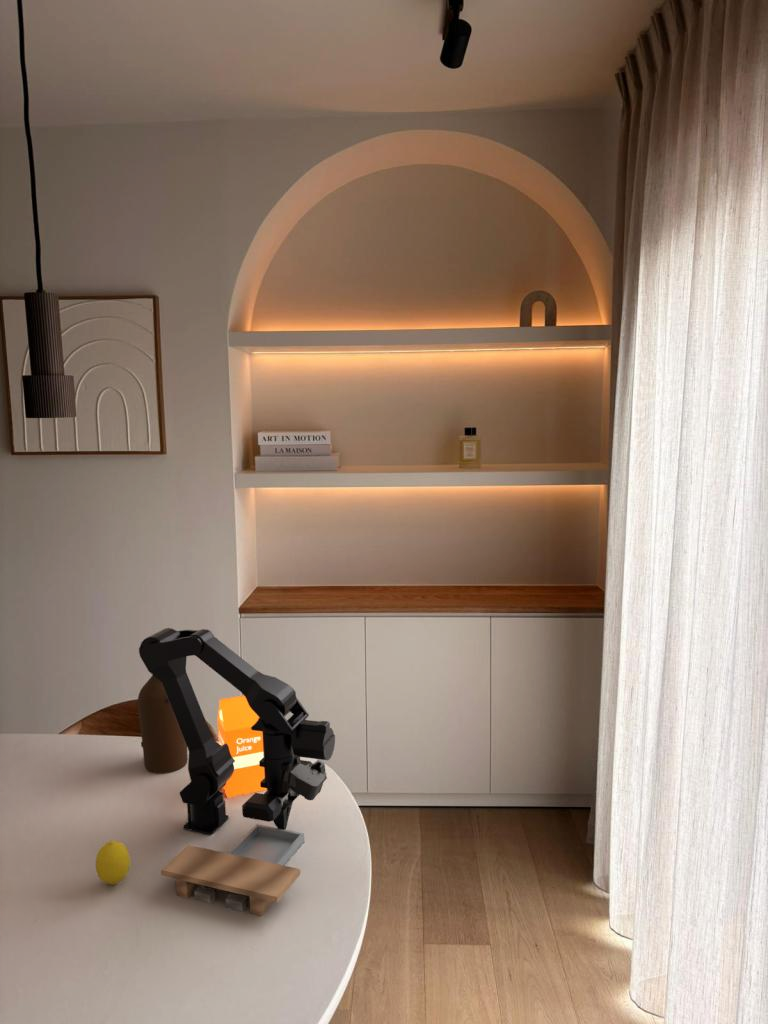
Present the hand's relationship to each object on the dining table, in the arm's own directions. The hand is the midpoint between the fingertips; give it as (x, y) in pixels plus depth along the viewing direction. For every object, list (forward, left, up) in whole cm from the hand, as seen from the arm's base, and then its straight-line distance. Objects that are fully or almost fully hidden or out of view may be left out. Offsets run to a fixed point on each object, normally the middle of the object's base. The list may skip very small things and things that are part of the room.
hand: (282, 830), depth 153 cm
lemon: (-20, -23, -1) cm, 31 cm away
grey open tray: (0, -8, -1) cm, 8 cm away
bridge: (0, -18, -1) cm, 18 cm away
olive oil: (-39, +18, -1) cm, 43 cm away
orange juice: (-17, +15, -1) cm, 23 cm away
